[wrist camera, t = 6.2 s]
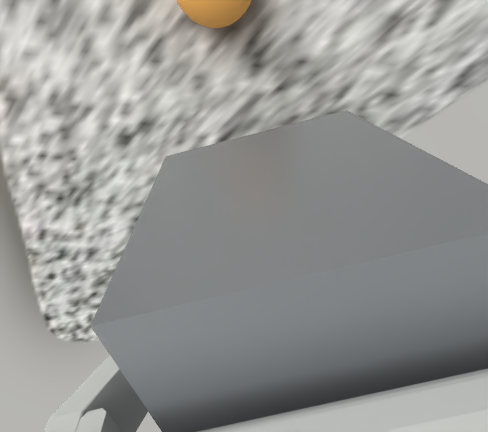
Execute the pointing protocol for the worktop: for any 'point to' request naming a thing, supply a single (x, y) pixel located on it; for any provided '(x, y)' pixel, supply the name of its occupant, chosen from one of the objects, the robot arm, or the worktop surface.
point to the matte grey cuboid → (298, 275)
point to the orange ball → (214, 11)
